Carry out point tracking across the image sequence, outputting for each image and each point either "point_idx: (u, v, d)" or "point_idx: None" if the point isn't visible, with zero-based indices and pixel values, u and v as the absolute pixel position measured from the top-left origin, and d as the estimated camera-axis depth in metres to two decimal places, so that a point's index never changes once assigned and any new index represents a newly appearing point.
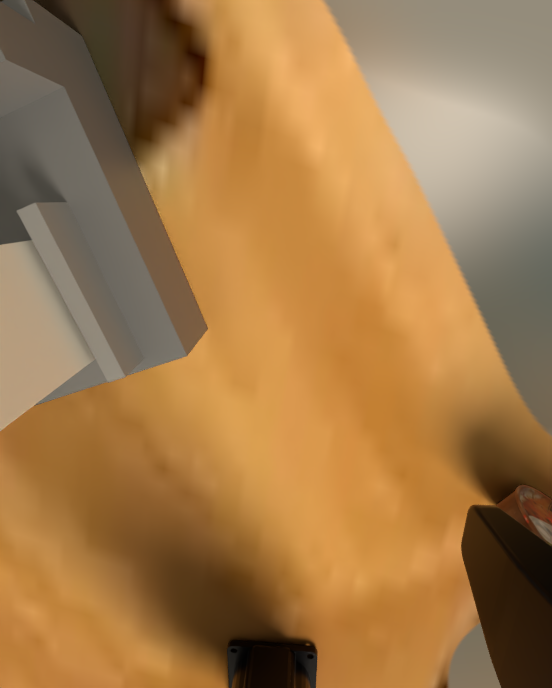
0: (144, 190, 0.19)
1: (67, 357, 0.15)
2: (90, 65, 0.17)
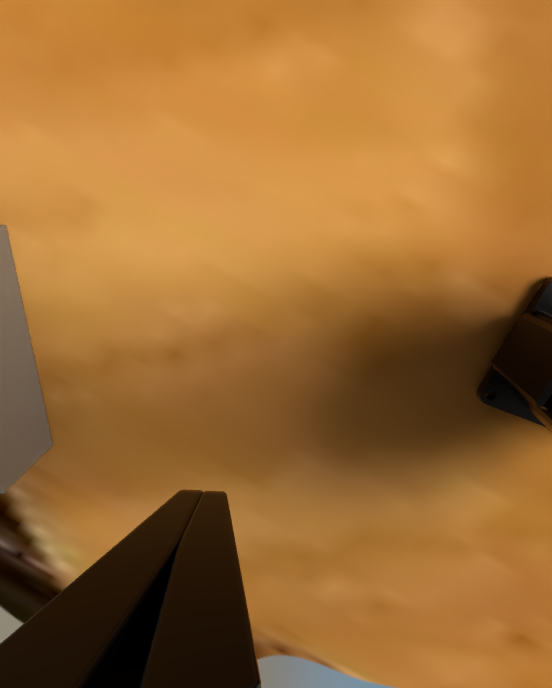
0: None
1: None
2: None
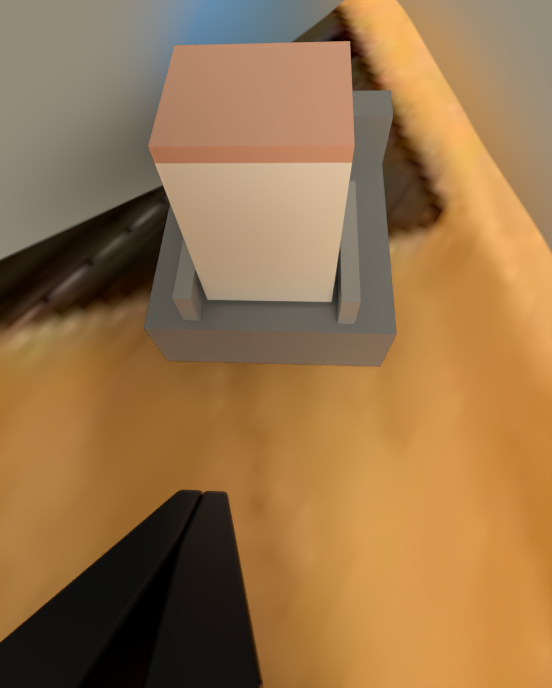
0: None
1: None
2: None
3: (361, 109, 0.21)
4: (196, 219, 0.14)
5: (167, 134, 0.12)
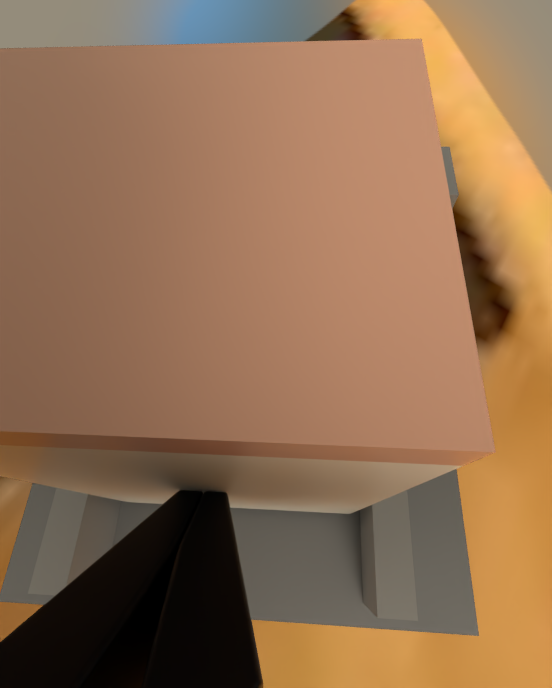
0: None
1: None
2: None
3: None
4: (30, 475, 0.06)
5: None
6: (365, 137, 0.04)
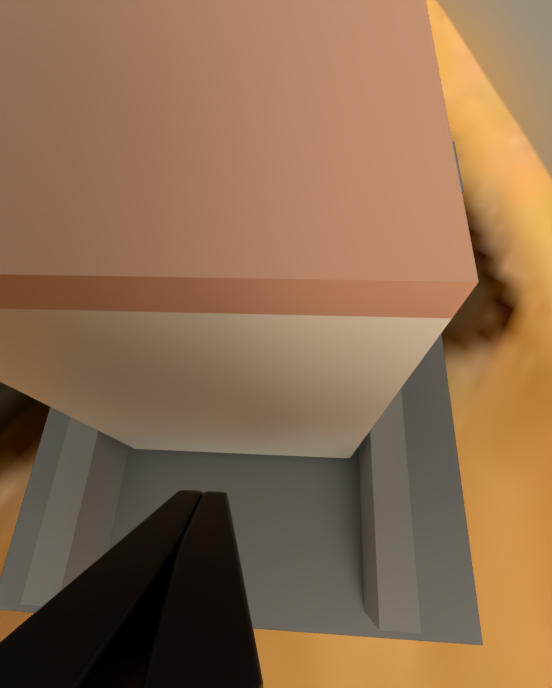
0: None
1: None
2: None
3: None
4: (49, 385, 0.06)
5: None
6: (364, 40, 0.05)
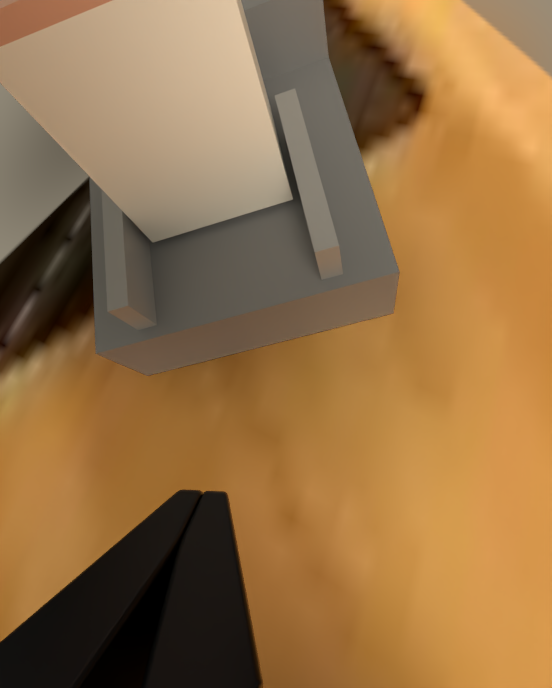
0: None
1: (274, 132, 0.13)
2: None
3: None
4: (76, 130, 0.11)
5: None
6: None
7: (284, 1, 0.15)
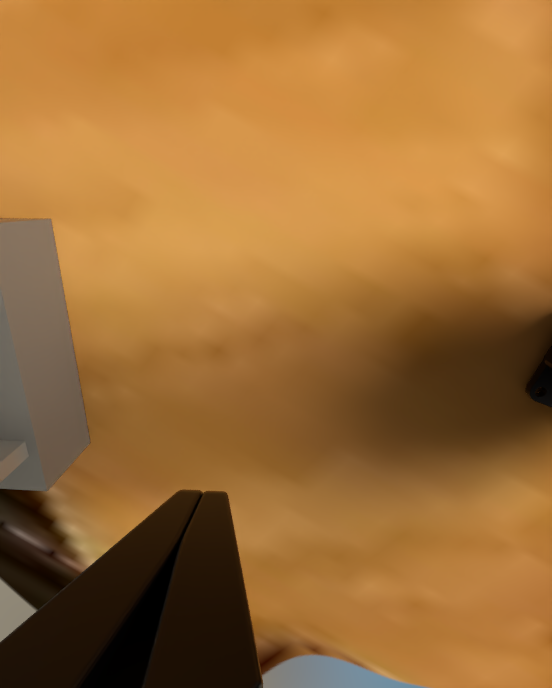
0: None
1: None
2: None
3: None
4: None
5: None
6: None
7: None
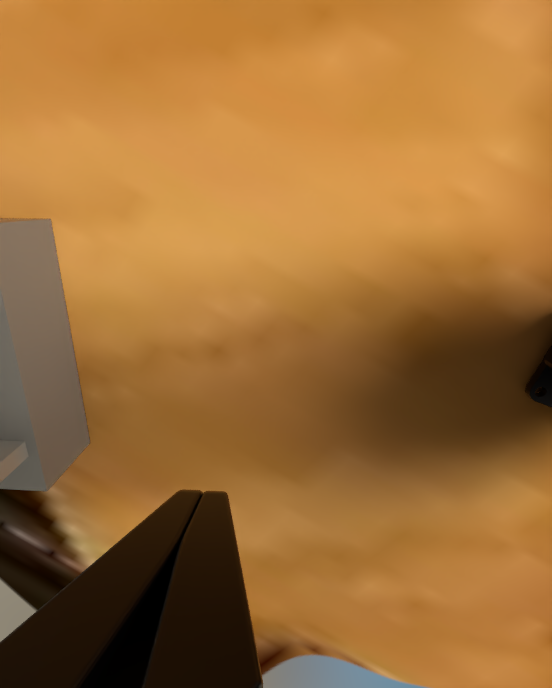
0: None
1: None
2: None
3: None
4: None
5: None
6: None
7: None
